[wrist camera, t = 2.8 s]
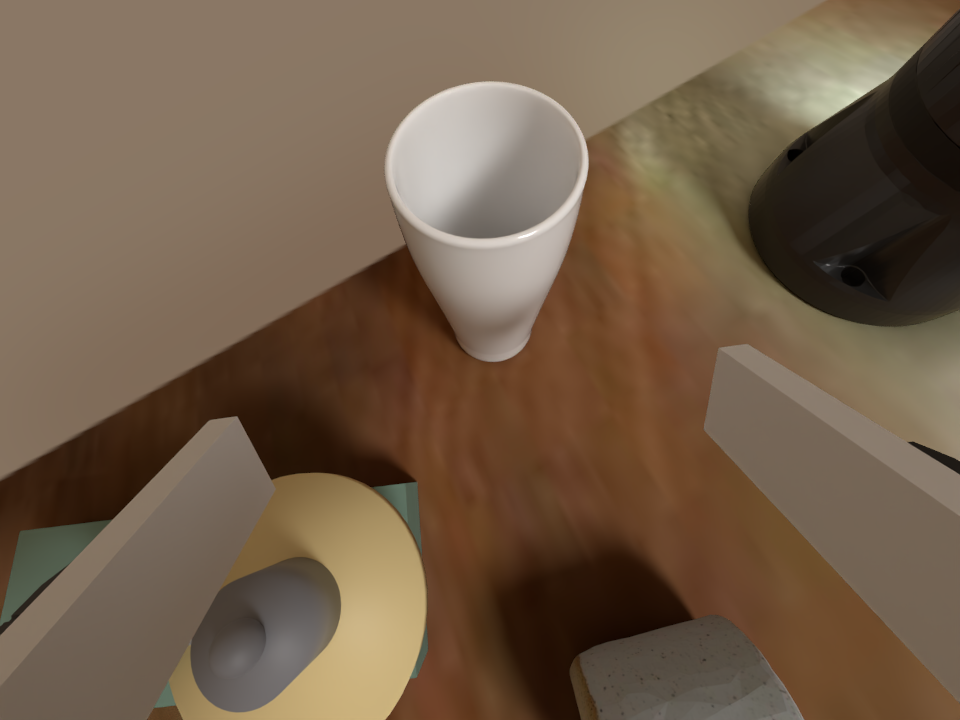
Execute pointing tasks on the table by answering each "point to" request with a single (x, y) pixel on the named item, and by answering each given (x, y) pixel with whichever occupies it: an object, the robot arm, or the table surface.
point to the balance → (291, 605)
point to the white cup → (488, 205)
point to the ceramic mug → (680, 677)
